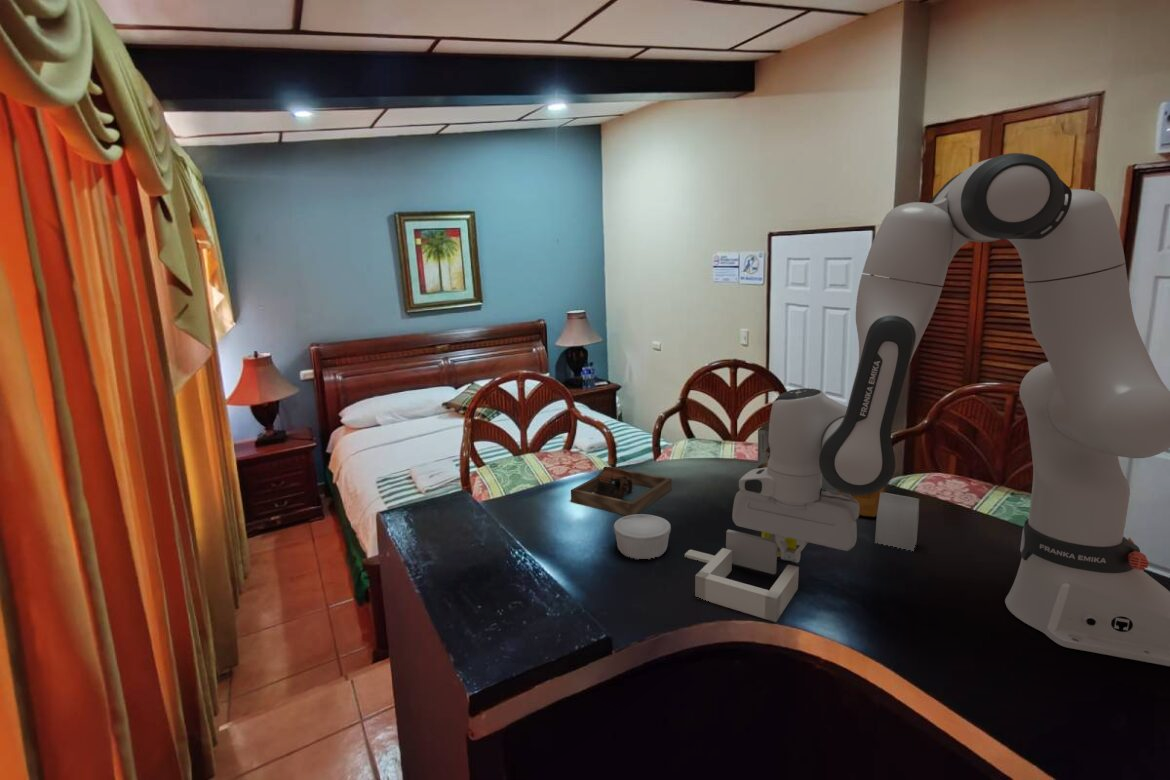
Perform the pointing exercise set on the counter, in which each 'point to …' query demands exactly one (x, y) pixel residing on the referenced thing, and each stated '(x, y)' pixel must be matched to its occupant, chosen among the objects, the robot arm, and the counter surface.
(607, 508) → the frame
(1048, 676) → the counter surface
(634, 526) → the ramekin
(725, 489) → the counter surface
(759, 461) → the coffee box
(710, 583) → the white handled frame
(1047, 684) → the counter surface
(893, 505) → the grey rectangular block
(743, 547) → the plate
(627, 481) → the pottery mug
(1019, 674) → the counter surface
